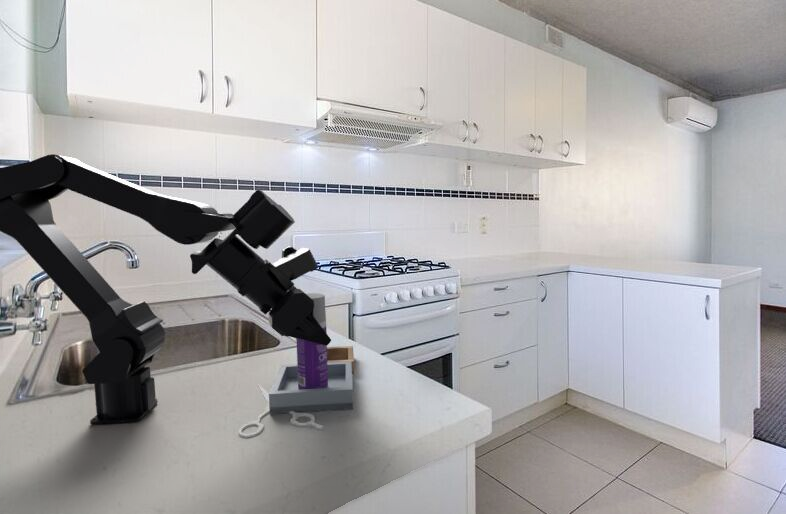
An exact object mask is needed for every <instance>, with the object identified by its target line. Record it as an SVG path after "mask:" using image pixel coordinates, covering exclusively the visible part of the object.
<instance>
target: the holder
mask: <svg viewBox="0 0 786 514" xmlns="http://www.w3.org/2000/svg"><path fill="white" fill-rule="evenodd" d="M332 362H351V366H352V376H355V355H354V345H343V346H341V345H340V346H327V363H332Z"/></svg>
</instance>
